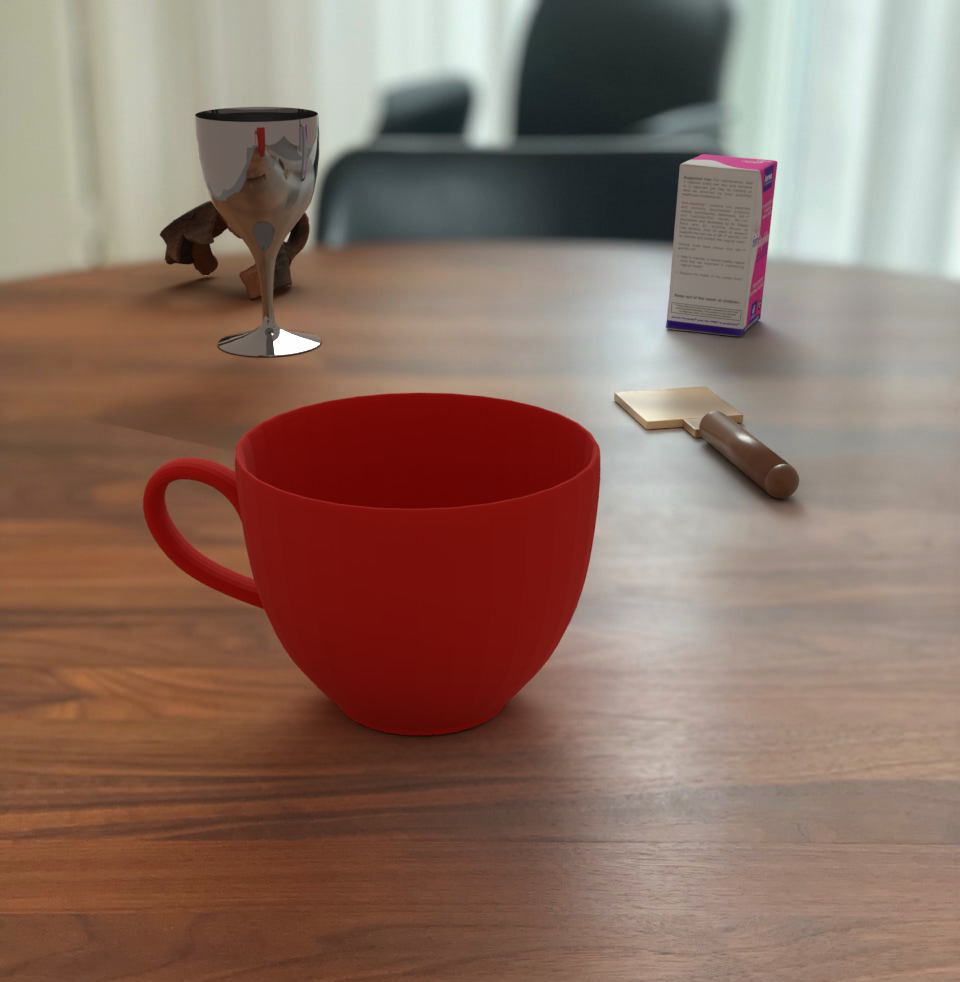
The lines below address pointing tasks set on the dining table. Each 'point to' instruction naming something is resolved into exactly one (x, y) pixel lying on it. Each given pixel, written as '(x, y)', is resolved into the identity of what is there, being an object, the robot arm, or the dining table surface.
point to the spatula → (712, 431)
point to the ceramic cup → (406, 547)
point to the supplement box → (720, 244)
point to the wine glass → (261, 199)
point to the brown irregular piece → (204, 223)
